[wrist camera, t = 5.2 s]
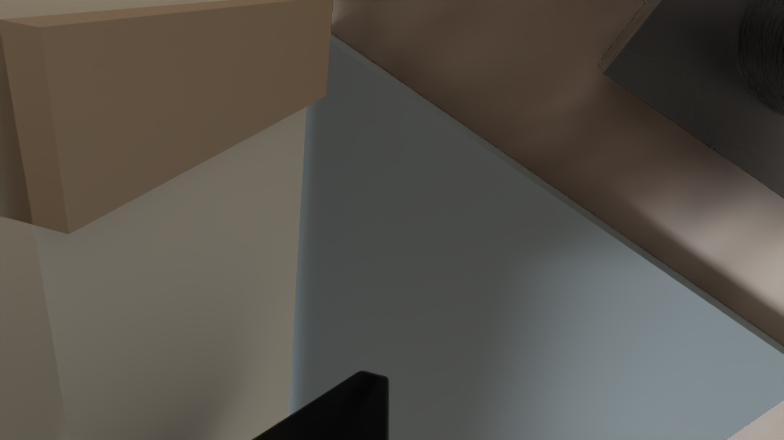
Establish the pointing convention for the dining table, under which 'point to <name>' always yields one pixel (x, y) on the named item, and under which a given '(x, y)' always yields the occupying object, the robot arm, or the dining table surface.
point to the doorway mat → (495, 290)
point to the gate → (152, 213)
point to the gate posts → (712, 75)
